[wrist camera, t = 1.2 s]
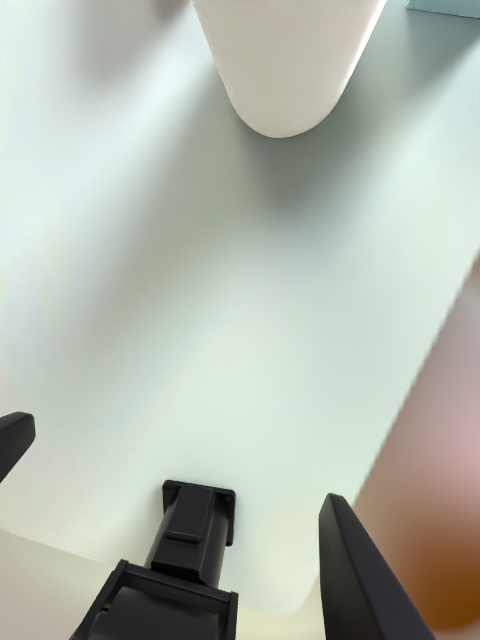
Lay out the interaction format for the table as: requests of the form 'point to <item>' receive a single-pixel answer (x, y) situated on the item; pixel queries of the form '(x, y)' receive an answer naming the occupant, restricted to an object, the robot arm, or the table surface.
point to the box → (447, 7)
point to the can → (286, 56)
